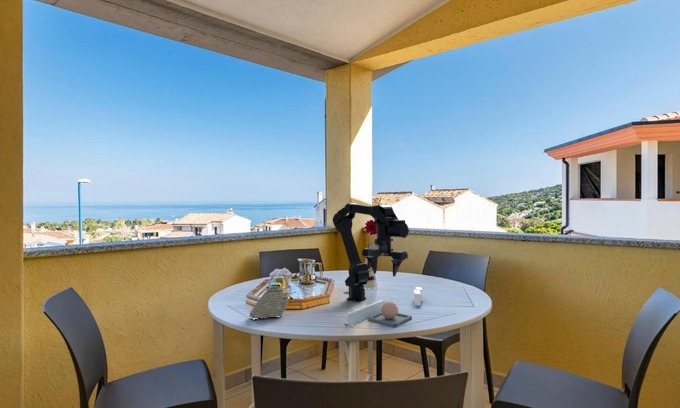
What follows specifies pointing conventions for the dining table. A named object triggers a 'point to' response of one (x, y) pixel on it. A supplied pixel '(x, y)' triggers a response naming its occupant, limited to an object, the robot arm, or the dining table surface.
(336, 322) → the dining table surface
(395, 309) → the ball
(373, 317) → the coaster
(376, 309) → the acrylic wall
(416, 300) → the napkin holder
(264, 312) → the fossil tooth
